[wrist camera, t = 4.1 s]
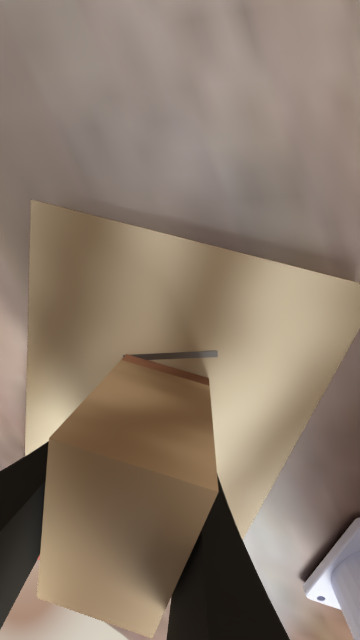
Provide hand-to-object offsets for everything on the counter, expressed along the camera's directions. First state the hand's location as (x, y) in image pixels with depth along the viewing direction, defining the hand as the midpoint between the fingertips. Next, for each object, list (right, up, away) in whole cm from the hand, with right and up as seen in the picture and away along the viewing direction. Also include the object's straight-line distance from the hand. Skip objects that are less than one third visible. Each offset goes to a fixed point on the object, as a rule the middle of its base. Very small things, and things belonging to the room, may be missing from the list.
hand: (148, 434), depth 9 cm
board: (0, -1, +2) cm, 3 cm away
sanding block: (0, 0, 0) cm, 1 cm away
